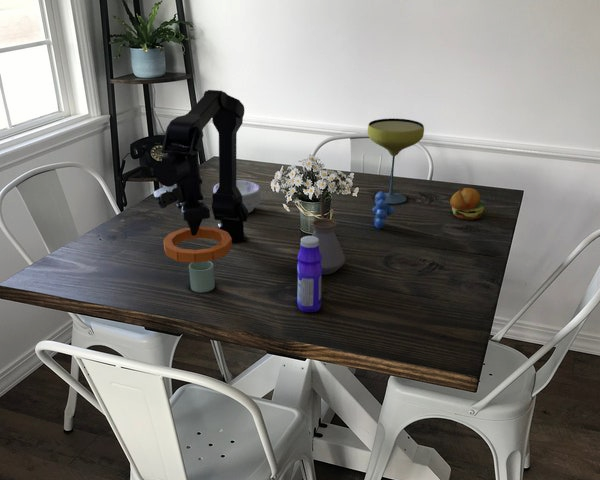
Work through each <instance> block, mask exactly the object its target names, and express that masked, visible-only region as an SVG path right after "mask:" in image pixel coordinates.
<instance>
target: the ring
mask: <svg viewBox="0 0 600 480" xmlns="http://www.w3.org/2000/svg"><path fill="white" fill-rule="evenodd" d="M194 239H207V240H214V241H216V242H219V243H218V244H216V245H213V246H211V247H208V248H207V247H206V248H200V249H187V248H181V247H180V246H177V245H178V244H180V243H182V242H185V241H188V240H194ZM232 248H233V243H232V238H231V237H230V235H229V233H228V232H227V231H224V230H221V229H219V228H218V227H215V226H203V225H202V226H201V225H200V227H199V229H198V232H197V234H196V235H195V236H192V235H191V231H190V228H189V227H183V228H180V229H177V230H175V231H173V232H170V233H168V234H167V235H166V236H165V238H163V249H164V253H165V255H166V257H168V258H169V259H172V260H174V261H176V262H180V263H195V262H196V263H198V262H205V261H210V262H213V261H215V260H218V259H220V258H223V257H226V256H227V255H228V254H229V253H230V251H231V250H232Z"/></svg>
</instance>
